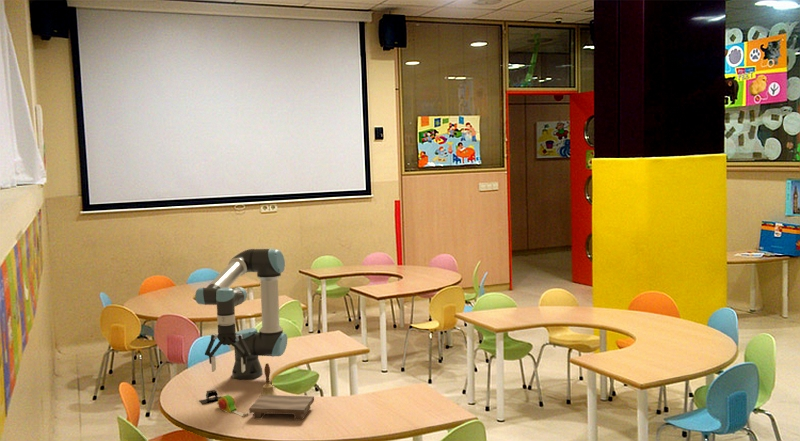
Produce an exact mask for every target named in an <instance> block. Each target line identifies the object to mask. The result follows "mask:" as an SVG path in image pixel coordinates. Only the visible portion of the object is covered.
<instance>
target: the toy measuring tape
mask: <svg viewBox="0 0 800 441" xmlns="http://www.w3.org/2000/svg"><path fill="white" fill-rule="evenodd" d="M216 403H217V405H218V409H220V410H222V411H223V412H226V413H230V414H233V413H234V414H236V415H237V416H238V415H239V416H240V417H244V418H245V417H247V416H248V415H249V412H245V413H244V412H241V411H239V410H238V409H237V407H236V400H235V398H234V397H233V396H232V395H229V394H225V395H223V396H222V397H221V398H220V399H218V402H216ZM237 410H238V411H237Z"/></svg>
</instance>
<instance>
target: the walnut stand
mask: <svg viewBox="0 0 800 441" xmlns="http://www.w3.org/2000/svg"><path fill="white" fill-rule="evenodd" d="M260 395H261V394H260ZM260 395H259V396H260ZM314 402H315V396H313V395H312V396H311V395H310V396H308V395H278V394H276V395H261V396H260V397H258V398H257V400H255V402H253V404H251V406H249V412H248V413H249V414H253V419H254V420H258V419H259V420H261V419H262V418H263V417H264V416H265V415H266V414H277V415H278V414H281V415H294V421H302V420H303V419H304V418H305V416H306V415H307V414H306V413H308V412H309V411H310V410H311V406H312V404H313V403H314ZM303 417H304V418H303Z"/></svg>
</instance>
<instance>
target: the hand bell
mask: <svg viewBox="0 0 800 441" xmlns="http://www.w3.org/2000/svg"><path fill="white" fill-rule="evenodd" d="M263 371H264V375H265V384H264V385H263V386H262V391H261V393H260V395H259V397H260V396H261V395H277V393H275V390H274V387H273V385H272V384H271V382H270V374H271V368H270V364H269V363H265V366H264V370H263ZM259 397H258V398H259Z"/></svg>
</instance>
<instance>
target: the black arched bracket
mask: <svg viewBox="0 0 800 441" xmlns="http://www.w3.org/2000/svg"><path fill="white" fill-rule="evenodd" d="M205 393H206V394H205V397H206V398H205V399H200V400H198V401H199V404H201V405H202V406H203V405H208V404H213V403H217V402H218V399H220V398H221V397H222V396H221V395H220V396H218V395H219V394H218V392H217V390H216V389H210V390H206V392H205Z"/></svg>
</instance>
